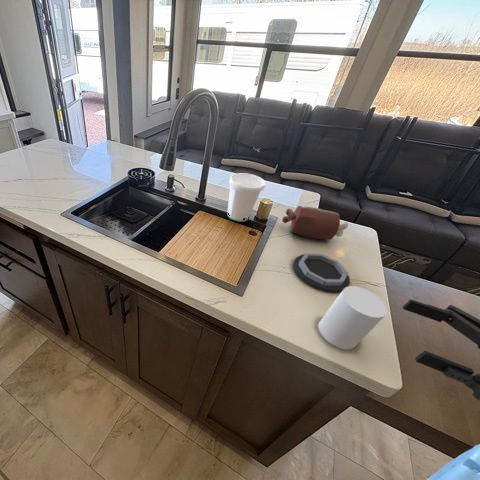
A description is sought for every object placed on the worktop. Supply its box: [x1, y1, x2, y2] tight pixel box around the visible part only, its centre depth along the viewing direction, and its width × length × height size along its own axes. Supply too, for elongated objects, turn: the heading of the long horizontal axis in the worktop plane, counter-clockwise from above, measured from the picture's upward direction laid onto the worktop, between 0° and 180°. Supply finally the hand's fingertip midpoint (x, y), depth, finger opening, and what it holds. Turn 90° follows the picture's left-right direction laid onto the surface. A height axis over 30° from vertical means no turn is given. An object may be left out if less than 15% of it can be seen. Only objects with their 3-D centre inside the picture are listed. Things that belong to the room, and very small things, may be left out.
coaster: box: [292, 252, 351, 294], centre depth 76 cm, size 15×15×3 cm
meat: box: [282, 205, 349, 241], centre depth 89 cm, size 20×12×10 cm, turn 70°
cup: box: [226, 172, 267, 223], centre depth 96 cm, size 12×12×15 cm
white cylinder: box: [318, 285, 389, 350], centre depth 57 cm, size 8×8×12 cm
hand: (412, 327), depth 51 cm, fingers open, 13 cm apart
